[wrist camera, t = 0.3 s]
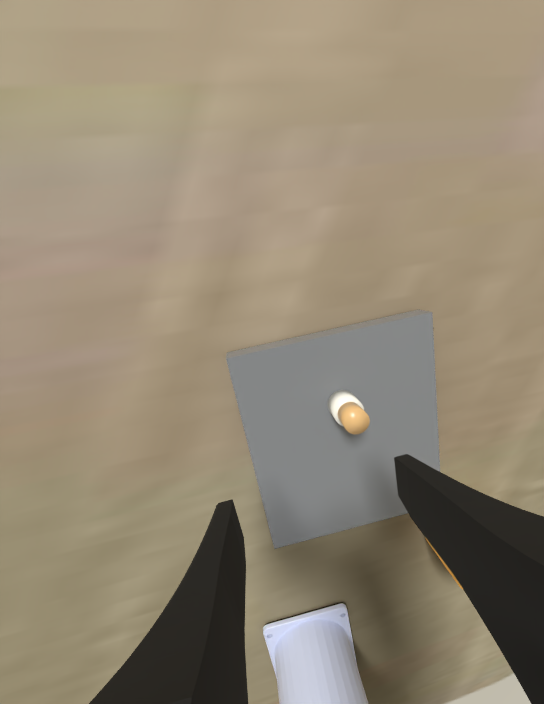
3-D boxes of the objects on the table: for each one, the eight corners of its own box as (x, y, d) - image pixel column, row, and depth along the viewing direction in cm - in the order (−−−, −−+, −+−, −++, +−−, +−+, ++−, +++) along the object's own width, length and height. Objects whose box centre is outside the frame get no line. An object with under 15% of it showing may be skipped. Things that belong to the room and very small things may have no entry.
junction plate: (430, 491, 26) (467, 533, 21) (272, 532, 25) (279, 584, 21) (418, 309, 21) (463, 318, 17) (226, 352, 20) (224, 372, 16)
